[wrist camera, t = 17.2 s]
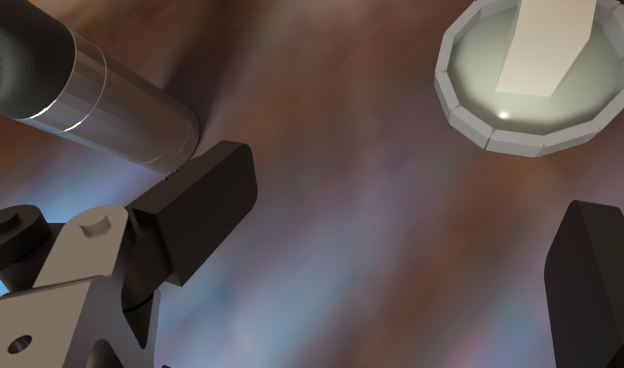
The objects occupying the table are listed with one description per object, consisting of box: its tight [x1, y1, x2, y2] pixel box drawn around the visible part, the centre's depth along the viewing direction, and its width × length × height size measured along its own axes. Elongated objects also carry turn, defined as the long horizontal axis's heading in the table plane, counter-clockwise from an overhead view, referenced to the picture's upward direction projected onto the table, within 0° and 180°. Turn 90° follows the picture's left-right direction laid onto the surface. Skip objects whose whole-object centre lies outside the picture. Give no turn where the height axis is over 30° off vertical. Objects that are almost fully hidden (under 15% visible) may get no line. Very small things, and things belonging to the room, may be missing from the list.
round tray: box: [435, 0, 624, 158], centre depth 34 cm, size 16×16×3 cm
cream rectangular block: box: [495, 0, 596, 97], centre depth 30 cm, size 5×5×9 cm
